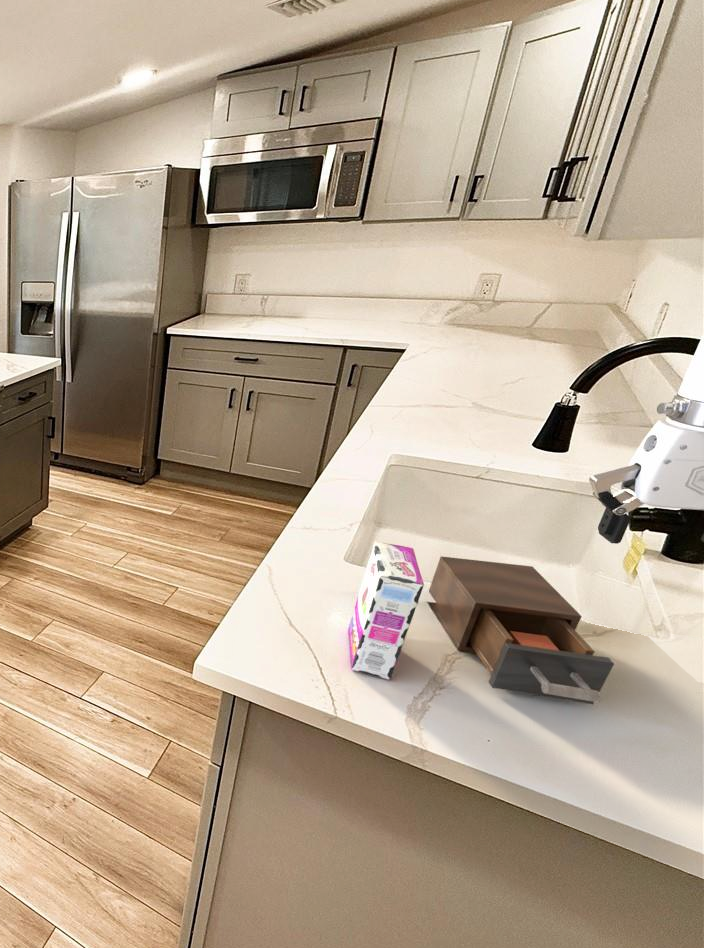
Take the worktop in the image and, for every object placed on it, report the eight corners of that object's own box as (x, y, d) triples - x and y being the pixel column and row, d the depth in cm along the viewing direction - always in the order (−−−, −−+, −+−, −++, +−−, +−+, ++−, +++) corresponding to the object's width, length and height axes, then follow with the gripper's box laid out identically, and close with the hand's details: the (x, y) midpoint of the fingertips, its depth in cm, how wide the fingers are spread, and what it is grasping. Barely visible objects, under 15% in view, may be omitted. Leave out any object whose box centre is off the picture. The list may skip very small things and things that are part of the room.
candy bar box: (393, 682, 86) (426, 584, 80) (350, 671, 89) (378, 576, 82) (385, 637, 95) (415, 546, 88) (346, 629, 98) (372, 539, 91)
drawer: (615, 731, 76) (638, 688, 73) (508, 712, 79) (526, 671, 77) (543, 645, 90) (560, 607, 87) (455, 633, 94) (469, 596, 91)
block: (536, 658, 86) (547, 635, 85) (551, 677, 83) (562, 654, 81) (500, 653, 88) (510, 630, 86) (513, 671, 84) (523, 648, 83)
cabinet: (558, 665, 87) (582, 616, 84) (457, 650, 92) (475, 602, 88) (513, 611, 99) (532, 566, 95) (425, 600, 103) (440, 556, 100)
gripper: (640, 421, 71) (586, 549, 78) (863, 426, 64) (783, 566, 71) (601, 402, 77) (554, 522, 84) (801, 406, 71) (733, 535, 78)
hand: (659, 542), depth 78 cm, fingers open, 9 cm apart
